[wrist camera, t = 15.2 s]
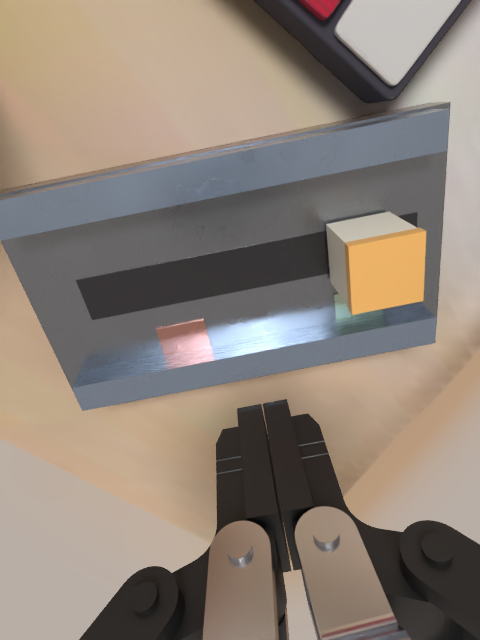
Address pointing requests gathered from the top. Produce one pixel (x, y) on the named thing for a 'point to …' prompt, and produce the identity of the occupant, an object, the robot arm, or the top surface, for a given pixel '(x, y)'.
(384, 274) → the breaker toggle
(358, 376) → the top surface
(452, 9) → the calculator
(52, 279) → the panel
